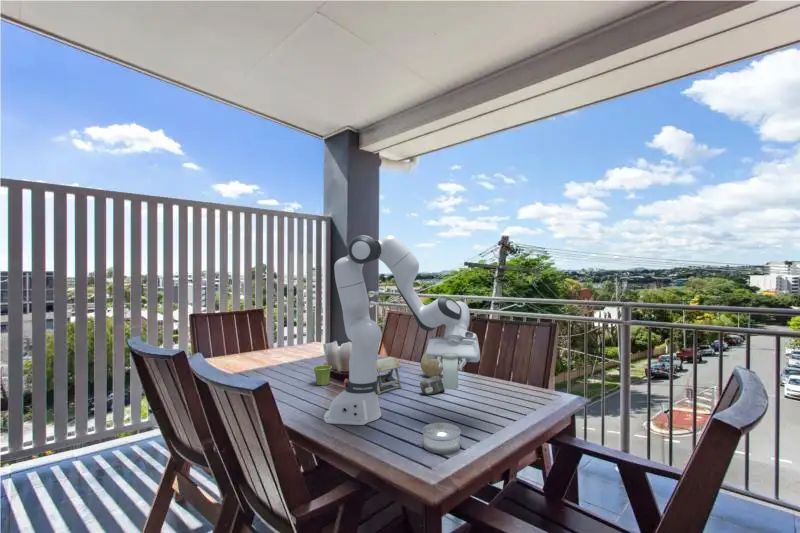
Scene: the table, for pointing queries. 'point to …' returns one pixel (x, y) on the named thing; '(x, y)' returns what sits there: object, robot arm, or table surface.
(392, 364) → the swing bench
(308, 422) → the table surface
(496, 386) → the table surface
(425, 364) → the fossilized egg
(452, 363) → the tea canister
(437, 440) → the round glass dish
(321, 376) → the plant pot
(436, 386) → the stone
